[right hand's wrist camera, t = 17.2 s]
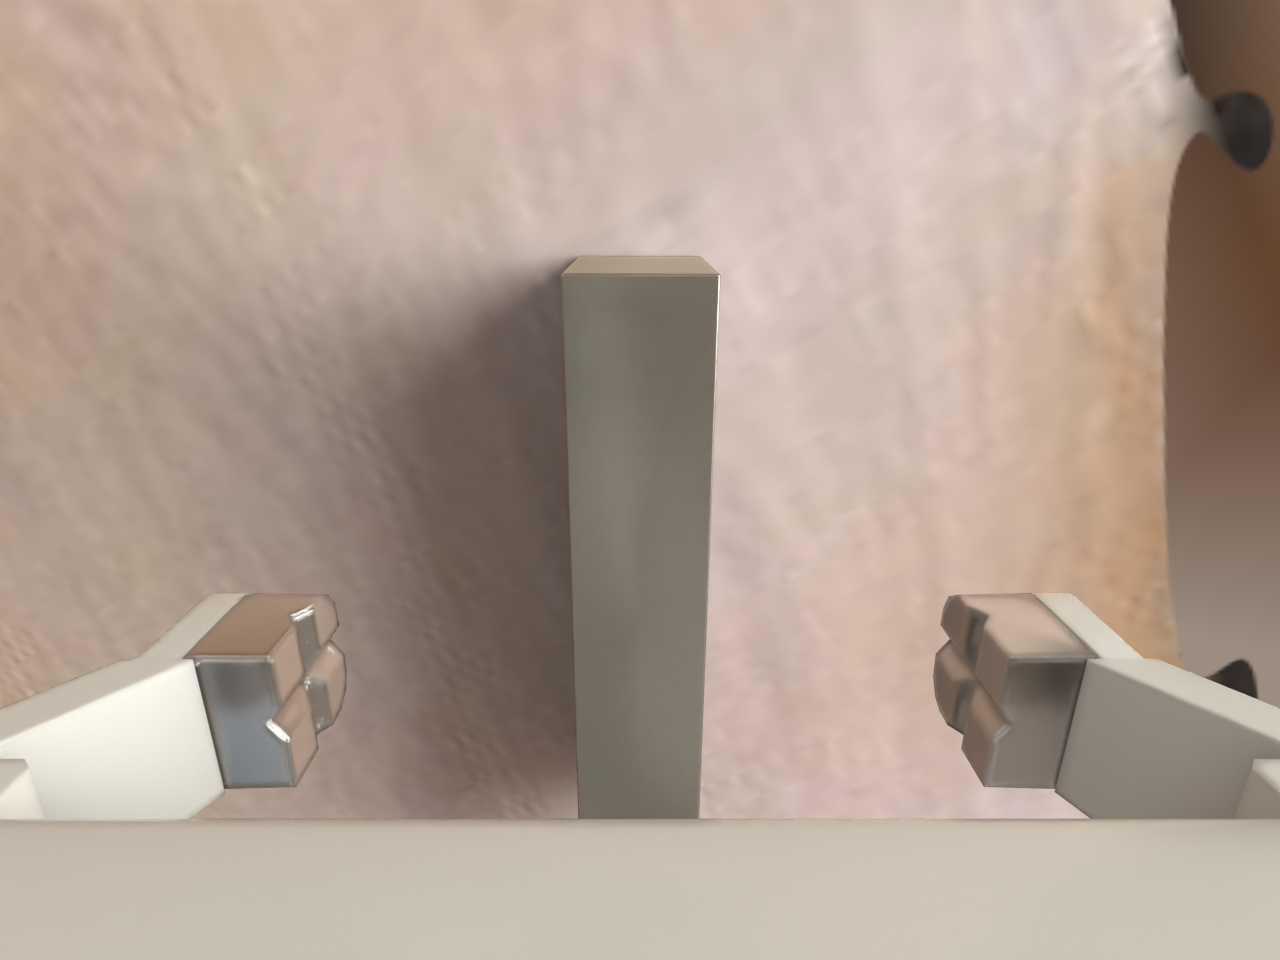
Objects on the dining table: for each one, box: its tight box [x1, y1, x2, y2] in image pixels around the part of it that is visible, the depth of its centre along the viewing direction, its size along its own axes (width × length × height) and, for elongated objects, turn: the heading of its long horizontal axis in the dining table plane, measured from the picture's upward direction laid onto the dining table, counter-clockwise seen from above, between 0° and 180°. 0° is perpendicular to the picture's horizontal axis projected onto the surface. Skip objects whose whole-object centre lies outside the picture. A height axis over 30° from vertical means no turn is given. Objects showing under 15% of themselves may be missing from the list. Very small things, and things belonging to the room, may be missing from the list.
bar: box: [561, 256, 720, 819], centre depth 32 cm, size 26×5×8 cm, turn 0°
